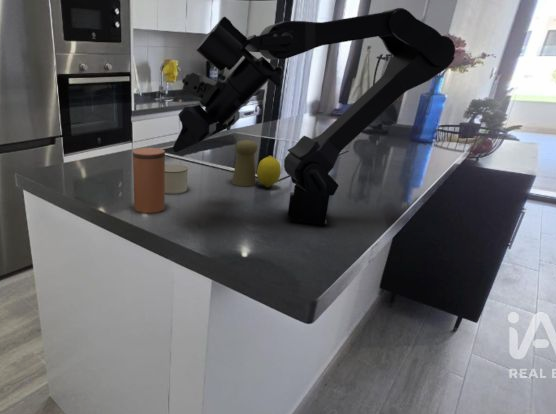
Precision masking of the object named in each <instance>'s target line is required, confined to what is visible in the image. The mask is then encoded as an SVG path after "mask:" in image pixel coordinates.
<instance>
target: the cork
mask: <svg viewBox="0 0 556 414" xmlns="http://www.w3.org/2000/svg"><path fill="white" fill-rule="evenodd" d="M235 151H236V153H237V156H236V161H235V165H234V170H233V174H232V180H231V183H232V184H233V185H235V186H238V187H252V186H253V187H254V186H255V185H256V184H257V181H256V178H257V177H256V163H255V162H256V160H255V153H256V152H257V151H258V144H257V142H256V141H254V140H252V139H251V140H250V139H244V140H243V139H242V140H239V141H238V142H237V143H236V145H235Z"/></svg>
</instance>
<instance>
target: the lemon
mask: <svg viewBox="0 0 556 414" xmlns="http://www.w3.org/2000/svg"><path fill="white" fill-rule="evenodd" d="M256 169H257V170H256V176H257V177H256V178H257V179H258V181H259V182H260V183H261V184H262V185H264V186H265V187H266V188H269V187H270V186H272V185H274V184H276V183H277V182H279V180H280V177H281V174H282V173H281V172H282V169H281V164H280V162H279V160H278V159H277V158H275V157H273V156H272V155H268V156H266V157H264V158H263V159H261V160H260V161H259V163H258V166H257V168H256Z"/></svg>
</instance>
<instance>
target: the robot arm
mask: <svg viewBox="0 0 556 414" xmlns="http://www.w3.org/2000/svg"><path fill="white" fill-rule="evenodd" d="M371 38H379V39H380V40H381V41H382V43H383V45H384V47H385V49H386V51H387V52H388V53H389V54H390V56H392V57H391V58H390V60H389V61H388V63H387V65H386V68H385V70H384V72H383V74H382V76H381V77H380V78H379V79H378V80H377V81H376V82H375V83H374V84H373V85H372V86H371V87H369V88H368V89H367V90H366V91H365V92H364V93H363V94H362V95H361V96H360V97H359V98H358V99H357V100H356V101H354V102H353V104H351V105H350V106H349V107H348V108H347V109H346V110H345V111H344V112H343V113H342V114H341V115H340V116H339V117H337V119H335V121H333V122H332V123H331V124H330V125H329V126H328V127H327V128H326V129H325V130H324V131H323V132H321V134H319V135H317V136H315V137H312V138H311V137H309V136H307V135H303V136H302V137H300V139H299V140H298V141H297V142H296V144H294V145H293V146H292V147H290V148H288V149H287V152H288V153H287V155H286V156H285V157H284V159H283V160H284V161H283V168H284V171H285V173H286V174H287V175H288V176H289V177H290V179H291V182H292V184H294V187H293V191H291V192H290V193H289V200H288V209H287V215H288V216H289V222H291V223H298V224H307V225H315V226H327V224H328V222H327V215H328V208H329V203H330V202H329V201H330V196H334V195H335V193H336V192H337V190H338V188H339V184H338V182H336V181H335V179H334V178H333V177H332V176H331V175H330V172H331V171H332V170H333V169H334V167H335V165H336V162H337V160H338V159H339V156H340V153H341V152H342V151H343V150H344V149H345V148H346V147H347V146H348V145H350V143H352V142H353V141H354V140H355V139H356V138H357V137H359V135H360V134H362V132H364V131H365V130H366V128H368V127H369V126H370V125H372V123H373V122H374V121H376V120H377V119H378V118H379V117H380V116H381V115H382V114H383V113H384V112H385V111H386V110H387V109H389V108H390V107H391V106H392V105H393V104H394V103H396V101H397V100H398V99H400V98H401V97H402V96H403V95H404V94H405V93H407V92H408V91H410V90H412V89H414V88H416V87H418V86H421V85H422V84H425V83H427V82H429V81H430V80H432V79H433V78H435V77H436V76H438V75H439V74H441V73H442V72H444V71H445V70H447V69H448V68H449V67H450V66H451V65H452V64H453V62H454V60H455V58H456V57H455V54H456V45H455V43H454V41H453V39H451V38H450V37H448V36H445V35H442V34H441V33H440V32H439V31H438V30H437V29H435V28H434V27H432V26H430V25H428V24H426V23H425V22H423V21H421V20H420V19H418V18H417V17H415V16H414V14H413V13H411V12H410V11H409V10H407V9H405V8H404V7H397V8H392V9H388V10H384V11H382V12H375V13H370V14H365V15H359V16H352V17H347V18H341V19H340V18H339V19H334V20H329V21H322V22H320V21H307V20H282V21H279V22H277V23H274V24H270V25H268V26H266V27H265V28H264V29H263V30H262V31H261V33H260V34H259V35H256V34H252V35H249V36H246V35H244V34H243V33H242V32H241V31H240V30H239V29H238V28H236V26H235V25H234V24H233V23H232V21H231V20H230V19H229V18H227V16H223V17H221V18H220V20H219V21H218V22H217V23H216V24H215V26H213V28H212V29H211V30H210V31H209V32H208V33H206V35H205V36H204V37H203V39H202V40H201V41H200V42H199V44H198V46H197V47H196V49H195V51H196V52H197V53H198V54H199V55H201V56H202V57H203V58H204V59H205V60H206V61H207V62H209V63H210V64H211V65H212V66H213V67H215V68H216V69H217V70H218V71H219V72H222V71H224V69H225V68H226V70H227V71H231V70H232V71H231V72H230V73H229V74H228V75H227V77H226V78H225V79H223V80H218V81H215V80H214V79H212V78H209V77H207V76H205V75H204V74H201V73H198V72H197V71H192V72H188V73H187V74H186V75H185V77H184V78H182V80H181V82H182V85H183V86H182V88H181V90H182V91H183V92H184V93H189V94H191V95H193V96H195V97H197V98H199V99H200V100H198V102H199V103H200V104H201V105H200V104H190V105H188V106H184V107H183V108H182V110H180V112H179V113H178V114H177V115H178V118H179V122H180V123H181V129H180V131H179V134H178V136H177V137H176V139H175V142H174V144H173V146H172V151H173V152H174V153H178V152H181V151H182V150H185V149H188V148H189V147H192V146H194V145H197V144H199V143H202V142H203V141H205V140H207V139H208V138H210V137H212V136H214V135H217V134H219V133H220V132H223V131H226V130H227V129H229V128H230V127H232V126H234V125H235V124H236V123H237V122H238V121H239V120H240V110H241V109H242V108H244V107H246V106H247V105H248V104H249V103H250V100H251V99H252V98H253V97H254V96H255V95H256V94H257V93H258V92H259V91H260V90H261V89H262V88H263V87H264V86H265V85H266V84H267V83H268V82H269V81H270V82H272V83H273V84H274V85H275V86H276V87H281V86H282V74H283V71H284V70H283V67H282V66H281V65H277V66H274V65H273V64H272V63H271V62H269V61H268V60H287V59H290V58H292V57H296V56H298V55H301V54H305V53H306V52H310V51H311V50H314V49H316V48H319V47H322V46H328V45H334V44H340V43H346V42H347V43H348V42H353V41H360V40H364V39H365V40H366V39H371ZM252 53H259V54H260V57H256V56H254V55H253V54H252ZM242 58H243V59H242ZM240 60H241V61H240ZM235 66H236V67H235ZM234 67H235V68H234ZM233 68H234V69H233ZM203 107H205V108H203Z"/></svg>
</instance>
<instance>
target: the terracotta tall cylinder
mask: <svg viewBox="0 0 556 414" xmlns="http://www.w3.org/2000/svg"><path fill="white" fill-rule="evenodd" d="M165 165H166V151H165V149H163V148H159V147H141V148H136V149H134V150H133V151H132V168H133V169H132V170H133V171H132V172H133V174H132V175H133V206H134V207H133V209H134V210H135V211H137V212H138V213H143V214H154V213H160V212H162V211H164V210H165V205H166V203H165V202H166V201H165V200H166V197H165V195H166V193H165Z"/></svg>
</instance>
